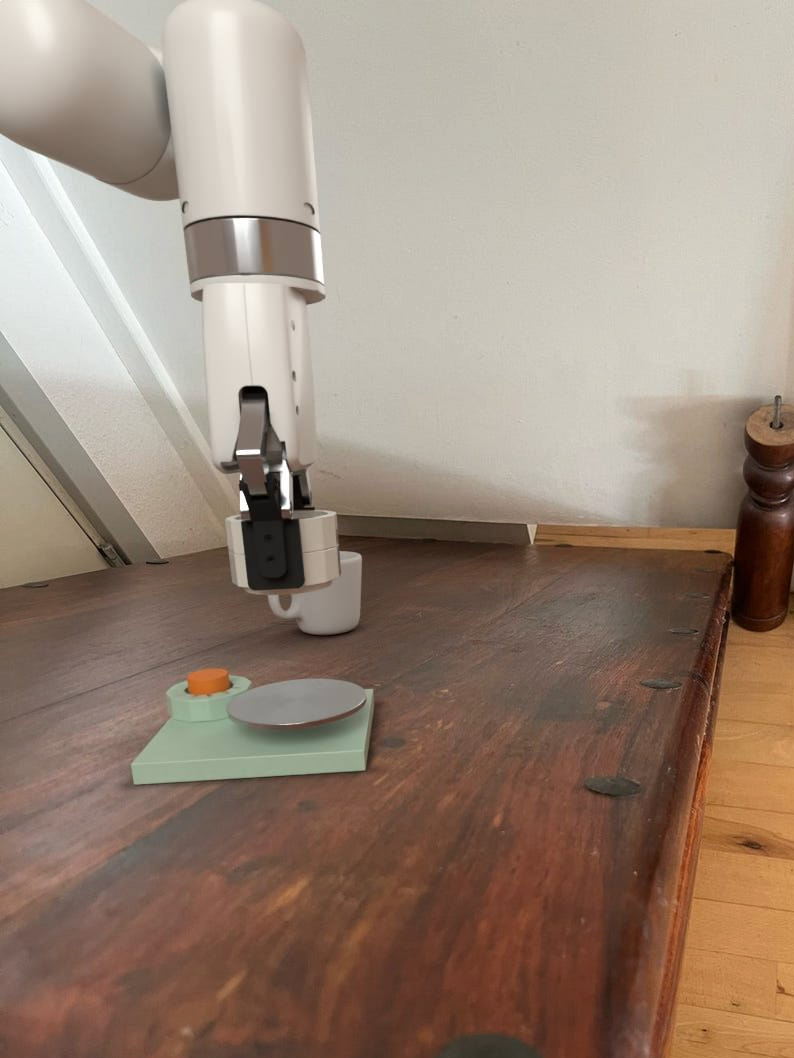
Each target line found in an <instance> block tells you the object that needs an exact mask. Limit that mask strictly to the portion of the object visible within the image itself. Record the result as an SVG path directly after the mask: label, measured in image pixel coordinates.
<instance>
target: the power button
mask: <svg viewBox="0 0 794 1058" xmlns="http://www.w3.org/2000/svg"><path fill="white" fill-rule="evenodd" d="M228 675H229V671H228V670H227V669H224V668H204V669H200V670H196V671H192V672H191V673H189V674H187V676H186V680H187V682H188V690H189V694H192V695H209V694H214V693H219V692H224V691H226V690H228V689H230V684H229V676H228Z"/></svg>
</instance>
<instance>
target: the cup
mask: <svg viewBox="0 0 794 1058" xmlns="http://www.w3.org/2000/svg"><path fill="white" fill-rule="evenodd" d="M339 552H340V565H341V575H340V577H339V578H338V579H335V580H332V585H330V586H329V587H327V588H324V589H321V590H317V591H312V592H306V593H298V594H290V597H291V601H290V602H291V603H290V606H289V608H288V609H287V610H284V609H283V607H282V605H281V601H280V595H267V600H268V604H269V607H270V609H271V611H272V613H273V615H275V617H277V618H279V619H281V620H294V619H295V621H296V624H297V626H298V628H299V629H300V631H301V632H303V633H305V634H309V635H314V636H331V635H339V634H344V633H347V632H350V631H352V630H354V629H355V628H356V627H357V626H358V624H359V622H360V618H361V604H362V603H361V599H362V573H363V571H362V570H363V569H362V568H363V567H362V566H363V565H362V564H363V563H362V562H363V557H362V555H361V554H360V553H358V552H355V551H344V550H343V551H342V550H339Z"/></svg>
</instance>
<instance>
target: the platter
mask: <svg viewBox="0 0 794 1058" xmlns="http://www.w3.org/2000/svg"><path fill="white" fill-rule="evenodd" d="M364 689H365V688H363V687H361V686H360V685H358V684H356V683H354V682H350V681H347V680H346V681H345V680H341V679H333V678H300V679H290V680H282V681H276V682H272V683H268V684H264V685H261V686H260V685H259V686H256V687H254V688H252V689H251V690H248V691H246V692H244V693H242V694H240V695H238V696H236V697H235V698H233V699H232V700H231V701H230V702H229V703H228V705H227V715H228V718H229V719H230V720H231V721H232V722H234V723H236V724H238V725H241V726H244V727H248V728H254V729H262V730H292V729H302V728H309V727H315V726H320V725H324V724H328V723H332V722H335V721H338V720H341V719H344V718H346V717H349V716H351V715H353V714H355V713H356V712H358V711H359V710H360V709H361V708H363V706H364V705H365V703H366V692H365V690H364Z"/></svg>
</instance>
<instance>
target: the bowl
mask: <svg viewBox="0 0 794 1058" xmlns="http://www.w3.org/2000/svg"><path fill="white" fill-rule="evenodd" d="M297 518H299V522H300V533H301V544H302V555H303V566H304V577H305V582H304V584H303V586H302V587H300V588H296V589H275V590H252V589H250V588H249V586H248V581H247V572H246V563H245V554H244V545H243V536H242V527H241V521H242V518H241V514H236V515H231V516H228V517H226V518H225V519H224V524H225V531H226V540H227V549H228V557H229V566H230V574H231V575H230V577H231V582H232V584H233V585H235V586H237V587H238V588H243V591H244V592H245V593H247V594H252V595H257V596H259V595H261V596H268V595H279V596H284V595H291V594H298V593H306V592H312V591H317V590H321V589H324V588H327V587H329V586H330V585H332V580H335V579H338V578H339V577H340V575H341V565H340V552H339V551H340V544H339V541H340V540H339V539H340V538H339V528H338V515H337V512H336V511H332V510H327V509H325V510H324V509H323V510H321V509H315V510H293V519H297Z"/></svg>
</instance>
